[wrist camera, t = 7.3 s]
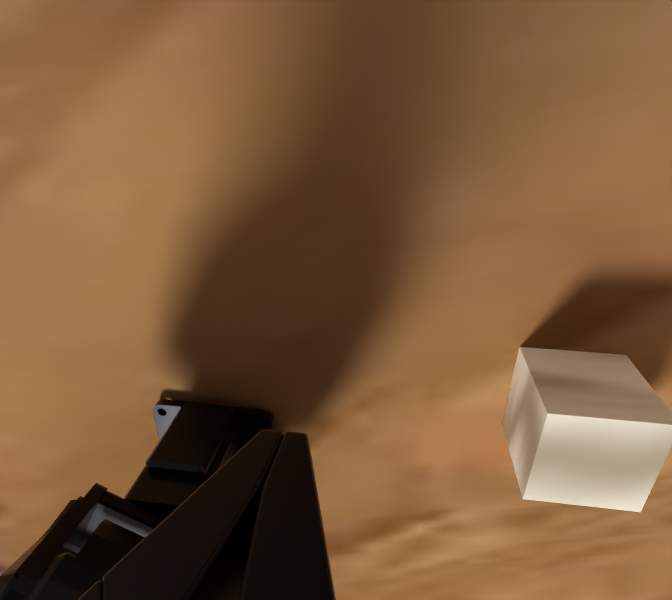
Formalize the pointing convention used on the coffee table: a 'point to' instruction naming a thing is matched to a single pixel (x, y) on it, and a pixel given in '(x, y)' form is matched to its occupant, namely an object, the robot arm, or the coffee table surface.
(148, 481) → the robot arm
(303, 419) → the coffee table surface
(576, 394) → the cream block
